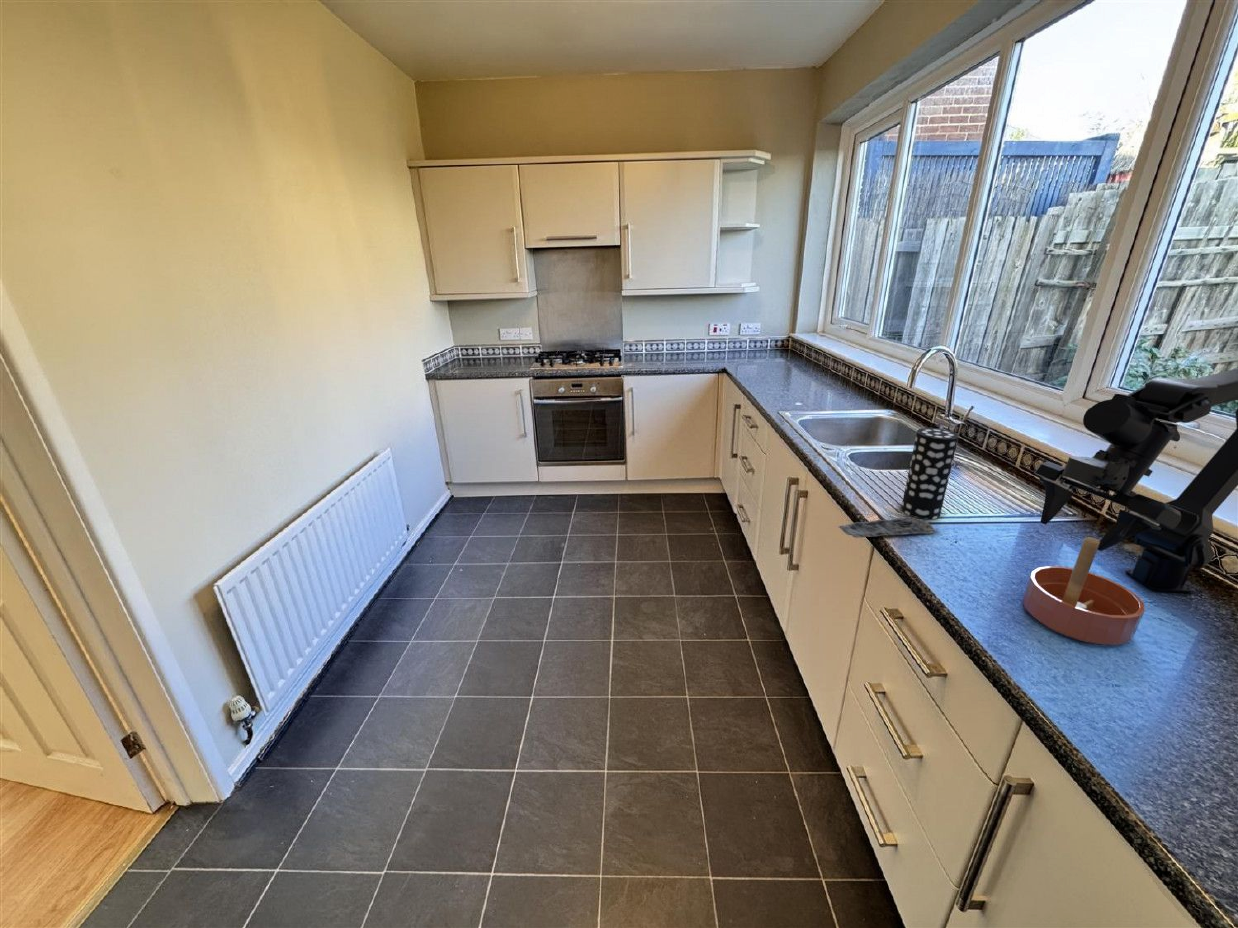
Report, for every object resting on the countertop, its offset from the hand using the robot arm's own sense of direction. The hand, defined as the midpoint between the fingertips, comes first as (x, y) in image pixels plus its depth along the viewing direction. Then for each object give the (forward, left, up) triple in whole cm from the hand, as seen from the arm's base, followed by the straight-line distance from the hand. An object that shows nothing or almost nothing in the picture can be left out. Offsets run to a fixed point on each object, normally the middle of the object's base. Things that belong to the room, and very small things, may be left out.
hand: (1069, 536), depth 86 cm
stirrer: (-1, +5, -12) cm, 13 cm away
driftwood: (+18, -25, -14) cm, 34 cm away
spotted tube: (+6, -35, -14) cm, 38 cm away
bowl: (-1, +5, -13) cm, 14 cm away
